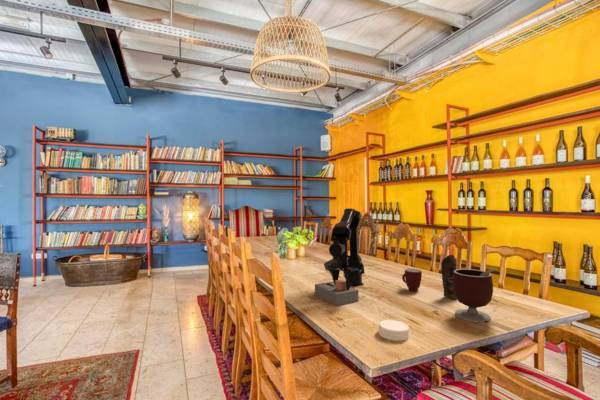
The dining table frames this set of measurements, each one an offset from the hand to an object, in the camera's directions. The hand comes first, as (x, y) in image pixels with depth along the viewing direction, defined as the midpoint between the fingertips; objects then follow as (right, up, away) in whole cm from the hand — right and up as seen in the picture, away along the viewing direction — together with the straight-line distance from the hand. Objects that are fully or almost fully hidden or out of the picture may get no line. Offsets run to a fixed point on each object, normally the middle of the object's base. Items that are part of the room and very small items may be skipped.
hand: (341, 287), depth 141 cm
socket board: (-2, -6, +4) cm, 8 cm away
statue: (+52, -6, +4) cm, 53 cm away
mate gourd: (+49, -6, -20) cm, 53 cm away
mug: (+38, -6, +17) cm, 42 cm away
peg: (0, -6, 0) cm, 6 cm away
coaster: (+13, -6, -36) cm, 39 cm away
